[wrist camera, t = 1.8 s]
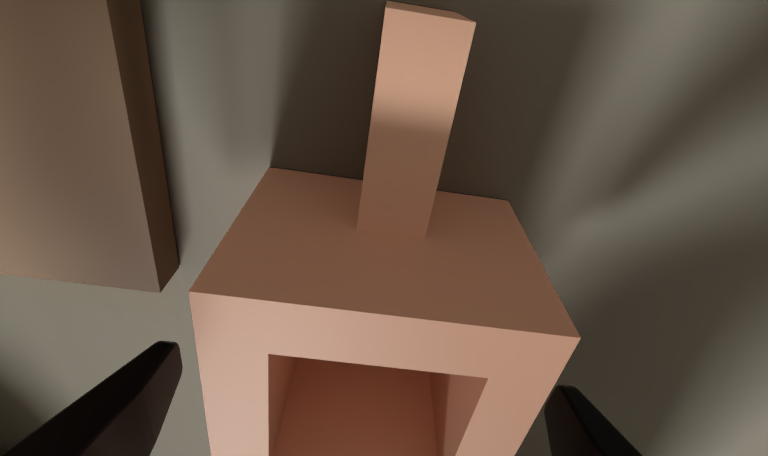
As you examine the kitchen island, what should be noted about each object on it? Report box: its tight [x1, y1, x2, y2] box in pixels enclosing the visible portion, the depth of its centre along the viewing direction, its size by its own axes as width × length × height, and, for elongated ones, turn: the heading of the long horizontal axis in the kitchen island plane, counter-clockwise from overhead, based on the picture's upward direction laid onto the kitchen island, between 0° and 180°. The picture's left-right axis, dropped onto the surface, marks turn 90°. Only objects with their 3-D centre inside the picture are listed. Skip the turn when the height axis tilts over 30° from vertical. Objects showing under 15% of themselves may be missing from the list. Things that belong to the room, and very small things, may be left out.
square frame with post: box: [189, 1, 581, 456], centre depth 9 cm, size 11×6×5 cm, turn 172°
